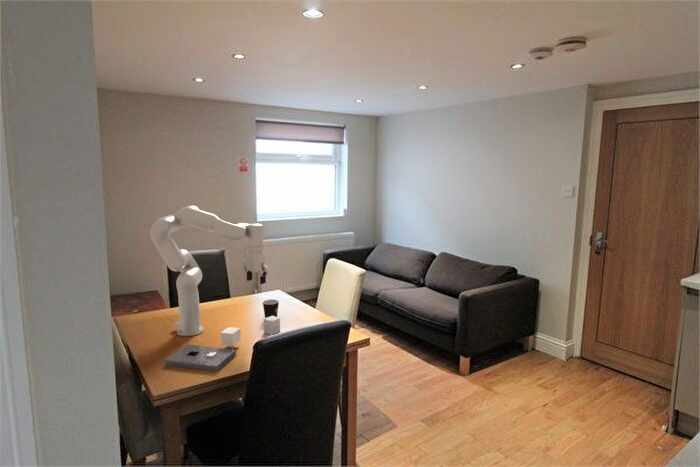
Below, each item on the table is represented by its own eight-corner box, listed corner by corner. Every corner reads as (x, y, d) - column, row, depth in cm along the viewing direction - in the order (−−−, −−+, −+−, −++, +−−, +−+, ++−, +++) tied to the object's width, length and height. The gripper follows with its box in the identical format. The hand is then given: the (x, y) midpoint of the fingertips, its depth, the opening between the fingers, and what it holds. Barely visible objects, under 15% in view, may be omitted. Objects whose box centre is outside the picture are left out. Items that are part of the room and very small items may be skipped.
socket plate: (165, 365, 177) (164, 358, 177) (187, 349, 193) (187, 342, 192) (216, 372, 172) (216, 364, 172) (235, 355, 187) (235, 348, 187)
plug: (221, 349, 193) (220, 332, 191) (228, 343, 200) (228, 327, 198) (233, 351, 191) (232, 333, 190) (240, 345, 198) (240, 328, 197)
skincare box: (272, 328, 219) (272, 315, 217) (280, 331, 215) (280, 318, 214) (263, 332, 214) (263, 318, 213) (271, 335, 210) (271, 321, 209)
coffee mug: (270, 323, 226) (270, 305, 224) (259, 319, 231) (259, 302, 230) (286, 317, 235) (285, 300, 234) (275, 314, 240) (275, 297, 239)
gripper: (238, 247, 211) (238, 280, 214) (262, 252, 201) (262, 286, 204) (249, 245, 217) (250, 277, 220) (273, 249, 208) (273, 283, 210)
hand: (256, 281), depth 212 cm, fingers open, 9 cm apart
